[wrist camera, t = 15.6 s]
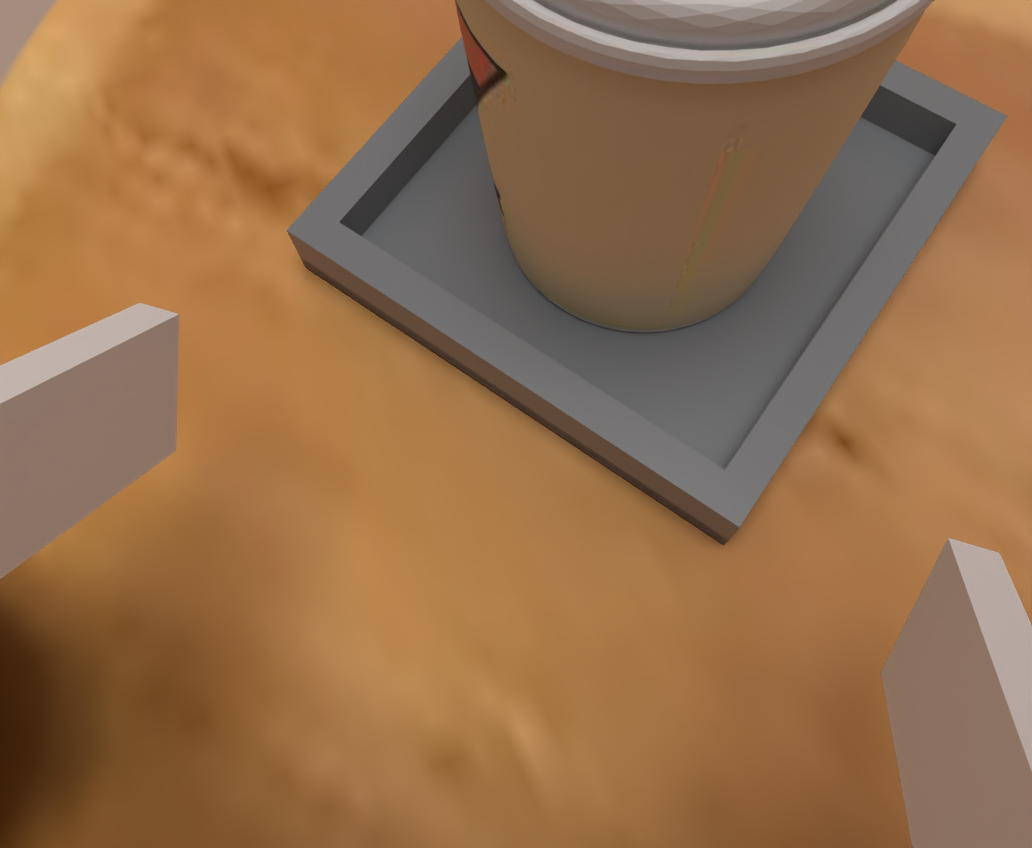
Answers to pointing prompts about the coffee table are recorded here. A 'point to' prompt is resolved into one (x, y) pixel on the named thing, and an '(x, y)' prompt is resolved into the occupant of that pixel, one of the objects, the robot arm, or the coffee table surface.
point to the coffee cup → (666, 137)
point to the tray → (654, 355)
